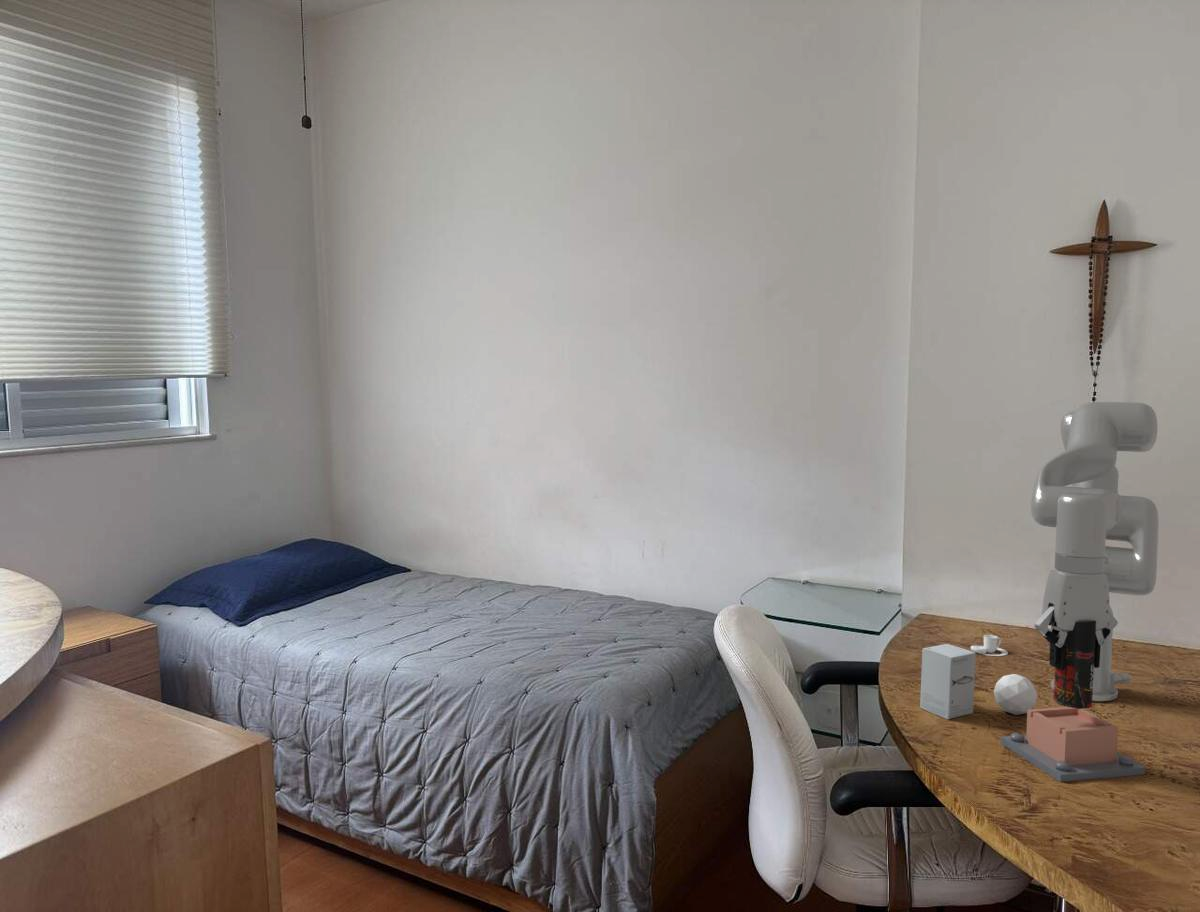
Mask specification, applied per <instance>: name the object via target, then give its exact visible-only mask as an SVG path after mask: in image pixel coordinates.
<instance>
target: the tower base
mask: <svg viewBox="0 0 1200 912" xmlns="http://www.w3.org/2000/svg"><path fill="white" fill-rule="evenodd" d="M1118 736H1119V726H1117V725H1114V724H1113V725H1112V723H1111V722H1109V721H1107V720H1105V719H1103V718H1101V717H1099V716H1097V715H1095V714H1093V713H1091V712H1089V711H1088V710H1085V708H1084V709H1080V708H1071V707H1066V706H1059V707H1046V708H1032V709H1029V710H1027V713H1026V734H1022V733H1019V732H1012V733H1011V734H1010V735H1003V736H1000V744H1002V745H1003V746H1005V747H1006V748H1008V749H1009V750H1011V751H1012V752H1014V753H1015V754H1017V755H1019V756H1020V757H1021V758H1023V759H1025V760H1026V761H1028V762H1029V763H1031V764H1032V765H1034V766H1035V767H1037V768H1038V769H1040V770H1041V771H1043V772H1044V773H1046V774H1047V775H1049V776H1050V777H1052V778H1054V779H1055V780H1057V781H1059V782H1060V783H1063V782H1073V781H1074V782H1075V781H1084V780H1085V781H1086V780H1095V779H1108V778H1110V779H1111V778H1117V777H1118V778H1119V777H1133V776H1141V775H1145V774H1146V767H1145V766H1143V765H1141V764H1139V763H1138V762H1136V761H1135V759H1134V758H1133V757H1131V756H1128V755H1124V754H1121V752H1118V741H1119V739H1118V738H1119V737H1118Z"/></svg>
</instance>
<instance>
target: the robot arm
mask: <svg viewBox="0 0 1200 912" xmlns="http://www.w3.org/2000/svg"><path fill="white" fill-rule="evenodd" d="M1158 427H1159V426H1158V417H1157V414H1156V412H1155V410H1154V408H1153V407H1152V406H1150V405H1149V404H1147V403H1143V402H1134V401H1133V402H1132V401H1131V402H1130V401H1128V402H1126V401H1125V402H1123V401H1118V402H1117V401H1115V402H1114V401H1094V402H1087V403H1085V404H1084V403H1083V404H1082V405H1080V406H1078V407H1077V408H1076V409H1075V410H1072V411H1069V412H1067V413H1065V414H1064V415H1063V416H1062V417H1061V420H1060V434H1061V435H1060V436H1061V440H1062V444H1063V447H1064V450H1063V452H1061V453H1058V454H1057V455H1056V456H1054V457H1052V458H1051V459H1049V460H1048V461H1047V462H1046V463H1045V464H1044V465H1042V467H1041V468H1040V470H1039V471H1038V473H1037V474H1036V477H1035V481H1034V486H1033V491H1032V496H1031V501H1030V502H1031V503H1030V505H1031V506H1030V507H1031V508H1030V510H1031V515H1032V518H1033V519H1034V521H1035V523H1037V524H1038V525H1040V526H1043V527H1050V528H1056V531H1055V549H1054V550H1055V553H1054V569H1052V570H1050V571H1049V573H1048V576H1047V578H1046V579H1047V580H1046V583H1045V588H1044V593H1043V594H1044V595H1043V600H1042V601H1043V602H1042V611H1041V616H1040V617H1039V618H1038V619H1037V620H1036V622H1034V627H1035V629H1036V630H1037V631H1038V632H1039V633H1040V634H1041V636H1042V637H1043V638H1044V639H1045V640H1046V642H1047V643H1048V644H1049V654H1048V655H1049V657H1048V660H1049V665H1050V666H1051V667H1053V668H1054V669H1055V668H1057V669H1060V670H1064V669H1065V662H1066V648H1065V647H1063V644H1064V641H1065V639H1066V636H1067V634H1068V631H1072V630H1073V628H1074V625H1075V622H1088V621H1096V637H1095V656H1094V676H1093V696H1092V702H1109V701H1114V700H1115V699H1117V698H1118V697H1119V696H1118V695H1119V691H1118V689H1117V688H1116V687H1115V686H1116V685H1117V684H1118V683H1119V684H1124V683H1126V684H1127V683H1129V682H1131V676H1130V675H1129V673H1125V672H1124V673H1117V674H1116V672H1115V671H1113V670H1111V669H1112V668H1111V667H1112V652H1113V651H1112V649H1113V632H1114V631H1113V630H1114V629H1115V628H1116V627H1117V625H1118V623H1119V622H1118V620H1117V618H1115V617H1114V612H1113V610H1112V609H1113V608H1112V607H1111V605H1110V594H1111V593H1112V594H1120V595H1132V596H1147V595H1149V594H1151V593H1152V592H1153V591H1154V589H1155V587H1156V583H1157V582H1156V581H1157V570H1158V569H1157V568H1158V550H1159V549H1158V547H1159V544H1158V543H1159V513H1158V508H1157V505H1156V504H1155V502H1154V501H1153V500H1151V499H1150V498H1147V497H1144V496H1137V495H1136V496H1134V495H1122V494H1119V492H1118V491H1119V490H1118V489H1119V470H1118V469H1117V467H1116V464H1117V461H1118V460H1117V455H1118V452H1134V453H1137V452H1138V453H1139V452H1140V453H1143V452H1144V453H1145V452H1149V451H1150V450H1152V449H1153V447H1154V446H1155V443H1156V440H1157V438H1158V437H1157V436H1158ZM1069 485H1071V486H1069ZM1106 540H1107V541H1118V542H1127V543H1129V544H1130V545H1131V546H1132V548H1129V547H1121V546H1119V547H1117V546H1109V545H1106ZM1049 626H1051V627H1050V628H1049ZM1058 631H1060V632H1059V634H1058V637H1057V633H1058ZM1054 680H1055V677H1054V678H1053V679H1051V680H1050V688H1051V689H1052V690H1053V691H1054Z"/></svg>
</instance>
